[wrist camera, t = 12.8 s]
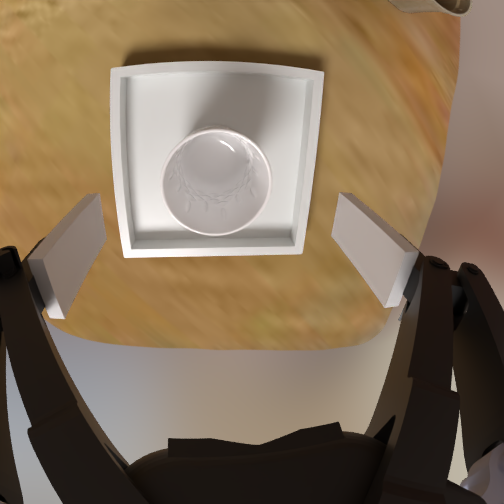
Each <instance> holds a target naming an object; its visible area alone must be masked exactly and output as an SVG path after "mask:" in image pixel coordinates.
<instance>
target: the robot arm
mask: <svg viewBox="0 0 504 504" xmlns="http://www.w3.org/2000/svg"><path fill="white" fill-rule="evenodd" d="M331 236H332V237H333V239H334V240H335V241H336V242H337V244H338V245H339V246H340V248H341V249H342V250H343V252H344V253H345V254H346V255H347V257H348V258H349V259H350V261H351V262H352V263H353V265H354V266H355V267H356V269H357V270H358V271H359V273H360V274H361V276H362V277H363V278H364V280H365V281H366V282H367V284H368V285H369V287H370V288H371V289H372V291H373V292H374V294H375V295H376V296H377V298H378V299H379V301H380V302H381V303H382V305H383V306H384V308H387V307H395V306H398V305H399V303H400V300H401V298H402V296H403V295H404V296H405V298H406V299H407V302H406V304H405V307H404V309H403V311H402V313H401V315H400V317H399V319H398V320H399V321H401V324H400V328H399V333H398V337H397V340H396V345H395V348H394V352H393V356H392V359H391V363H390V366H389V370H388V373H387V376H386V379H385V383H384V385H383V389H382V391H381V395H380V397H379V400H378V403H377V406H376V409H375V411H374V415H373V417H372V419H371V422H370V424H369V427H368V429H367V431H366V432H365V434H364V435H363V434H359V433H354V432H344V431H342V430H341V427H340V424H339V422H335V423H331V424H326V425H321V426H316V427H311V428H305V429H300V430H298V431H295V432H293V433H291V434H288V435H285V436H283V437H280V438H278V439H275V440H272V441H270V442H267V443H264V444H261V445H251V444H243V443H236V442H230V441H224V440H218V439H212V438H207V439H206V438H205V439H173V438H169V439H168V448H167V449H163V450H159V451H156V452H153V453H150V454H148V455H146V456H143V457H142V458H140V459H138V460H136V461H135V462H134V463H132V464H131V465H129V464H128V462H127V461H126V460H125V459H124V458H123V457H122V455H121V454H120V453H119V452H118V451H117V449H116V448H115V447H114V445H113V444H112V443H111V441H110V440H109V438H108V437H107V435H106V434H105V433H104V431H103V430H102V428H101V427H100V425H99V424H98V422H97V421H96V419H95V418H94V416H93V414H92V413H91V411H90V410H89V408H88V406H87V405H86V403H85V401H84V400H83V398H82V396H81V395H80V393H79V391H78V389H77V387H76V386H75V384H74V382H73V380H72V378H71V377H70V375H69V373H68V371H67V369H66V367H65V365H64V363H63V361H62V359H61V357H60V355H59V353H58V351H57V348H56V346H55V344H54V342H53V339H52V337H51V335H50V332H49V330H48V328H47V325H46V323H45V320H44V318H43V316H42V314H41V313H42V311H43V309H44V307H45V308H46V310H47V312H48V315H49V317H50V318H58V319H65V318H66V315H67V313H68V311H69V309H70V307H71V305H72V303H73V301H74V299H75V297H76V295H77V293H78V291H79V289H80V287H81V285H82V283H83V281H84V279H85V277H86V275H87V273H88V271H89V269H90V268H91V266H92V264H93V262H94V260H95V259H96V257H97V255H98V253H99V252H100V250H101V248H102V246H103V245H104V243H105V241H106V240H107V237H106V232H105V226H104V220H103V213H102V207H101V200H100V193H95V194H87V195H86V196H85V197H84V198H83V199H82V200H81V201H80V202H79V203H78V204H77V205H76V206H75V207H74V208H73V209H72V210H71V211H70V212H69V213H68V214H67V215H66V216H65V217H64V218H63V219H62V220H61V221H60V222H59V223H58V224H57V225H56V227H55V228H54V229H53V230H52V231H51V232H50V233H49V234H48V235H47V236H46V237H45V238H43V239H42V240H40V241H39V242H38V243H37V244H36V245H35V247H34V248H33V249H32V250H31V251H30V253H29V254H28V255H27V256H26V257H25V258H24V260H23V261H22V262H21V260H20V257H19V254H18V251H17V248H16V247H15V246H6V247H3V248H1V249H0V504H23V497H22V492H21V488H20V483H19V478H18V475H17V470H16V465H15V460H14V456H13V450H12V444H11V437H10V430H9V422H8V411H7V396H6V346H7V350H8V354H9V358H10V362H11V366H12V370H13V373H14V377H15V380H16V383H17V386H18V389H19V392H20V395H21V398H22V401H23V404H24V407H25V409H26V412H27V415H28V417H29V420H30V422H31V425H32V427H30V428H28V436H29V439H30V442H31V444H32V447H33V449H34V451H35V453H36V455H37V457H38V459H39V461H40V463H41V465H42V467H43V469H44V471H45V473H46V475H47V477H48V479H49V481H50V483H51V484H52V486H53V488H54V490H55V491H56V493H57V495H58V496H59V498H60V500H61V501H62V503H63V504H504V311H503V309H502V307H501V305H500V303H499V301H498V299H497V297H496V295H495V293H494V291H493V289H492V288H491V286H490V284H489V282H488V281H487V279H486V277H485V275H484V274H483V272H482V271H481V270H480V269H479V268H478V267H477V266H476V265H474V264H470V263H466V262H464V263H462V264H461V266H460V268H459V271H458V272H457V271H452V270H450V268H449V265H448V264H447V263H446V262H445V261H443V260H442V259H440V258H437V257H434V256H426V257H425V256H424V255H423V254H422V253H421V252H420V251H419V250H418V249H417V248H416V247H415V246H413V245H412V244H411V243H410V242H409V241H408V240H407V239H406V238H405V237H404V236H403V235H401V234H399V233H398V232H397V231H396V230H395V229H394V228H393V227H391V226H390V225H389V224H388V223H387V222H386V221H384V220H383V219H382V218H381V217H380V216H379V215H377V214H376V213H375V212H374V211H373V210H371V209H370V208H369V207H368V206H367V205H365V204H364V203H363V202H362V201H360V200H359V199H358V198H357V197H356V196H354V195H353V194H352V193H343V192H339V198H338V203H337V209H336V214H335V219H334V225H333V230H332V235H331ZM466 311H467V312H466ZM452 366H453V370H454V375H455V381H456V387H457V392H455V391H452V390H451V379H452ZM459 410H460V417H461V426H462V438H463V450H464V458H465V463H466V468H467V472H468V477H467V478H465V479H464V480H463V481H462V482H461V484H460V486H459V485H457V484H455V483H453V482H451V481H449V480H447V478H448V474H449V470H450V466H451V461H452V456H453V451H454V445H455V439H456V433H457V426H458V418H459Z"/></svg>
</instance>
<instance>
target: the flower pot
mask: <svg viewBox="0 0 504 504" xmlns="http://www.w3.org/2000/svg"><path fill="white" fill-rule="evenodd" d="M388 1H389V2H391V3H392V4H394V5H395V6H396V7H397V8H398V9H399V10H401V11H403V12H407V13H417V12H443V13H446V14H450V15H453V16H457V17H463V16H466V15H467V14H469V12H470V11H471V8H472V0H388Z"/></svg>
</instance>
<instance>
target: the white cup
mask: <svg viewBox="0 0 504 504" xmlns="http://www.w3.org/2000/svg"><path fill="white" fill-rule="evenodd" d="M160 190H161V196H162V199H163V202H164V204H165V206H166V208H167V210H168V212H169V213H170V214H171V216H172V217H173V218H174V219H175V220H176V221H177V222H178V223H179V224H181V225H182V226H184V227H185V228H187V229H189V230H191V231H193V232H196V233H199V234H203V235H211V236H219V235H226V234H231V233H234V232H237V231H239V230H241V229H243V228H245V227H247V226H248V225H250V224H251V223H252V222H253V221H254V220H256V219H257V218H258V216H259V215H260V214H261V213H262V211H263V210H264V208H265V207H266V205H267V203H268V201H269V198H270V195H271V191H272V171H271V167H270V164H269V161H268V159H267V157H266V155H265V154H264V152H263V151H262V149H261V148H260V147H259V146H258V145H257V144H256V143H255V142H254V141H253V140H251V139H250V138H248V137H247V136H245V135H243V134H241V133H239V132H238V131H236V130H233V129H231V128H228V127H224V126H217V125H213V126H206V127H202V128H199V129H197V130H195V131H194V132H192V133H190V134H189V135H187V136H186V137H185V138H184V139H183V140H182V141H181V142H179V143H178V144H177V145H176V146H175V147H174V148H173V150H172V151H171V152H170V153H169V155H168V157H167V158H166V160H165V162H164V165H163V168H162V171H161V177H160Z"/></svg>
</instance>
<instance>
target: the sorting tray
mask: <svg viewBox="0 0 504 504" xmlns="http://www.w3.org/2000/svg"><path fill="white" fill-rule="evenodd" d="M323 81H324V72H322V71H316V70H310V69H304V68H297V67H290V66H281V65H272V64H262V63H249V62H229V61H184V62H165V63H152V64H141V65H132V66H125V67H117V68H111V79H110V131H111V152H112V167H113V179H114V190H115V199H116V207H117V215H118V223H119V230H120V236H121V242H122V249H123V254H124V258H133V257H186V256H235V255H282V254H302V252H303V246H304V239H305V233H306V226H307V220H308V213H309V206H310V199H311V192H312V184H313V176H314V168H315V160H316V152H317V143H318V134H319V124H320V114H321V104H322V93H323ZM213 125H217V126H224V127H228V128H231V129H233V130H236V131H238V132H239V133H241V134H243V135H245V136H247V137H248V138H250V139H251V140H253V141H254V142H255V143H256V144H257V145H258V146H259V147H260V148H261V149H262V151H263V152H264V154H265V155H266V157H267V159H268V161H269V164H270V167H271V171H272V191H271V195H270V198H269V201H268V203H267V205H266V207H265V208H264V210H263V211H262V213H261V214H260V215H259V216H258V218H257V219H256V220H254V221H253V222H252V223H251V224H250V225H248V226H247V227H245V228H243V229H241V230H239V231H237V232H234V233H231V234H226V235H219V236H211V235H203V234H199V233H196V232H193V231H191V230H189V229H187V228H185V227H184V226H182V225H181V224H179V223H178V222H177V221H176V220H175V219H174V218H173V217H172V216H171V214H170V213H169V212H168V210H167V208H166V206H165V204H164V202H163V199H162V196H161V190H160V177H161V171H162V168H163V165H164V162H165V160H166V158H167V157H168V155H169V153H170V152H171V151H172V150H173V148H174V147H175V146H176V145H177V144H178V143H179V142H181V141H182V140H183V139H184V138H185V137H186V136H187V135H189V134H190V133H192V132H194V131H195V130H197V129H199V128H202V127H206V126H213Z"/></svg>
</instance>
